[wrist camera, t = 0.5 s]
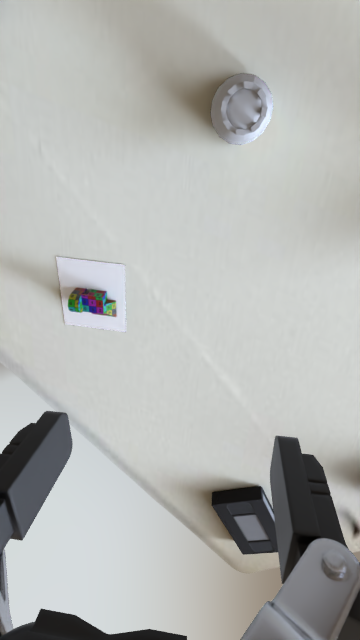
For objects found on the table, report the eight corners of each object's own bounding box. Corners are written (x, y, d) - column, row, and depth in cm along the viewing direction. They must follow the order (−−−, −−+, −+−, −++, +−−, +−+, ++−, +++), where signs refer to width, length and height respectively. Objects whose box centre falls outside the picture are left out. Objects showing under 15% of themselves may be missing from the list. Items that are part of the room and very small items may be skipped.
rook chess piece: (223, 64, 24) (220, 44, 17) (282, 86, 24) (302, 75, 17) (202, 132, 26) (192, 139, 19) (256, 152, 26) (264, 165, 20)
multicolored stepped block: (64, 323, 38) (54, 336, 35) (55, 256, 33) (43, 266, 31) (126, 332, 37) (119, 345, 35) (125, 264, 33) (117, 275, 31)
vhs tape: (261, 485, 48) (262, 499, 46) (287, 537, 54) (289, 551, 53) (212, 491, 50) (211, 505, 49) (242, 541, 57) (242, 554, 55)
